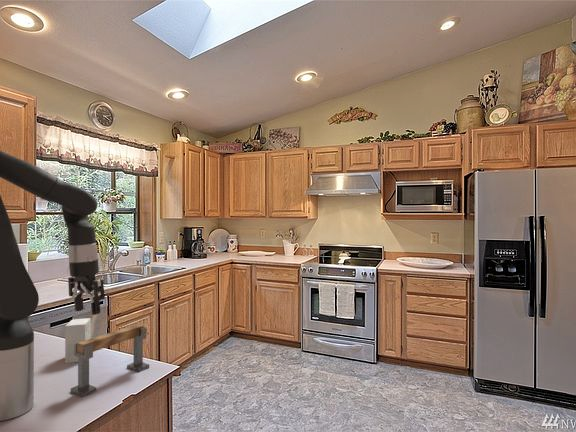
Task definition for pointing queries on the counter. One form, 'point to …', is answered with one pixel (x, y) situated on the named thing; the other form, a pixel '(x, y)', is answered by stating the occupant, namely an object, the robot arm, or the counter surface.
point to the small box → (76, 336)
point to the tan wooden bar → (110, 338)
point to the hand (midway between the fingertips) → (87, 312)
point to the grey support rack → (83, 360)
